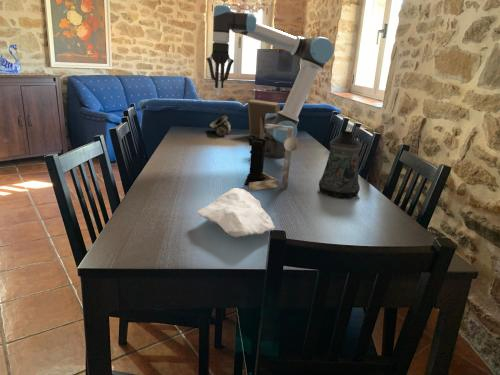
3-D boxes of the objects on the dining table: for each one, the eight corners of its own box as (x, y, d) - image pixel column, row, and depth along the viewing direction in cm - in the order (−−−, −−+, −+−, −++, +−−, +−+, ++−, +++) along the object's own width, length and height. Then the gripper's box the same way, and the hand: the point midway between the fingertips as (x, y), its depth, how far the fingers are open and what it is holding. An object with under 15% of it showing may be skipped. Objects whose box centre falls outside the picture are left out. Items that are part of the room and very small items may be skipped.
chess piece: (266, 182, 159) (270, 136, 152) (262, 187, 151) (267, 139, 145) (248, 179, 160) (251, 134, 154) (244, 185, 153) (247, 137, 146)
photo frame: (253, 134, 261) (255, 98, 253) (280, 139, 251) (283, 102, 242) (241, 137, 249) (243, 100, 241) (269, 143, 239) (272, 104, 230)
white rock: (189, 245, 98) (195, 214, 95) (200, 198, 131) (205, 174, 128) (275, 261, 100) (283, 231, 97) (264, 210, 133) (270, 187, 130)
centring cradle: (277, 177, 167) (282, 120, 159) (292, 189, 152) (299, 128, 144) (237, 178, 161) (241, 119, 153) (250, 191, 146) (254, 127, 138)
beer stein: (335, 201, 142) (345, 137, 134) (306, 185, 158) (313, 127, 150) (367, 197, 150) (378, 136, 141) (336, 182, 166) (344, 127, 158)
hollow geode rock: (221, 145, 245) (237, 129, 242) (207, 131, 241) (224, 115, 238) (222, 135, 271) (237, 121, 268) (210, 122, 267) (225, 108, 264)
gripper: (232, 44, 175) (229, 95, 183) (205, 41, 171) (203, 93, 179) (236, 43, 169) (233, 96, 176) (208, 41, 164) (206, 95, 172)
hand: (218, 95), depth 177 cm, fingers closed
